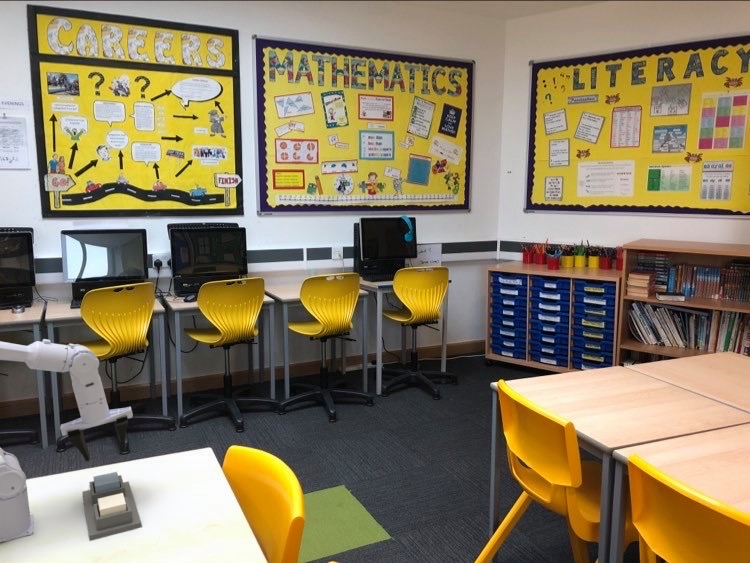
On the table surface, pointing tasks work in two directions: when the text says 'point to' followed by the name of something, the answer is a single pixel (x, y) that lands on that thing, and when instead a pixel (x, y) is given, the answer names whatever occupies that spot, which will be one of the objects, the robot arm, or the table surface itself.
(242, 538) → the table surface
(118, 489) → the key board
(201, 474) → the table surface
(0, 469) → the robot arm
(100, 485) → the blue key
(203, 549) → the table surface
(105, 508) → the white key
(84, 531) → the table surface
